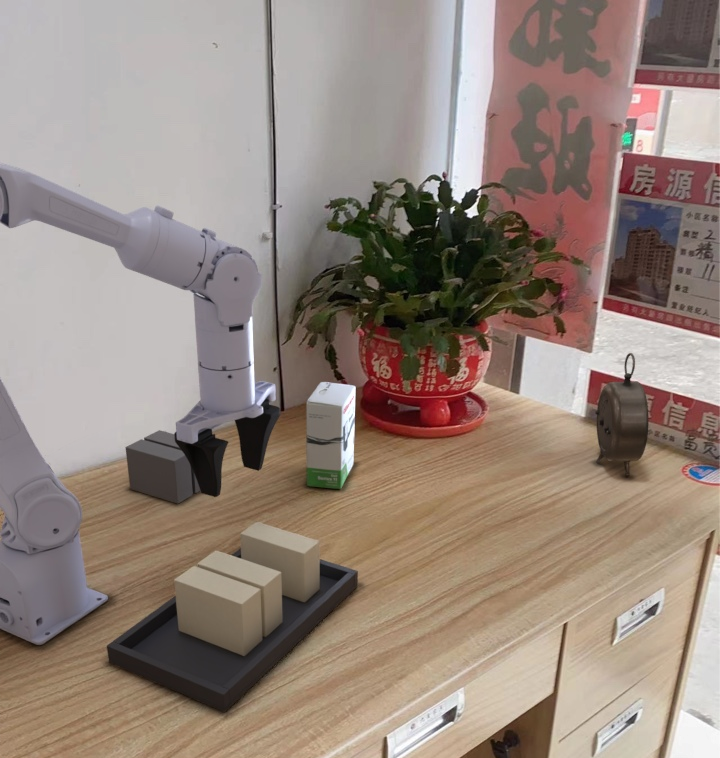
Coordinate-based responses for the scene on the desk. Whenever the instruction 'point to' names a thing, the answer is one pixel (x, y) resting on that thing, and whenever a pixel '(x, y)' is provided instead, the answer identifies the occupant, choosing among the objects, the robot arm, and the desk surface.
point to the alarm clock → (622, 420)
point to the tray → (216, 664)
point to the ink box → (330, 434)
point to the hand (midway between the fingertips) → (232, 480)
